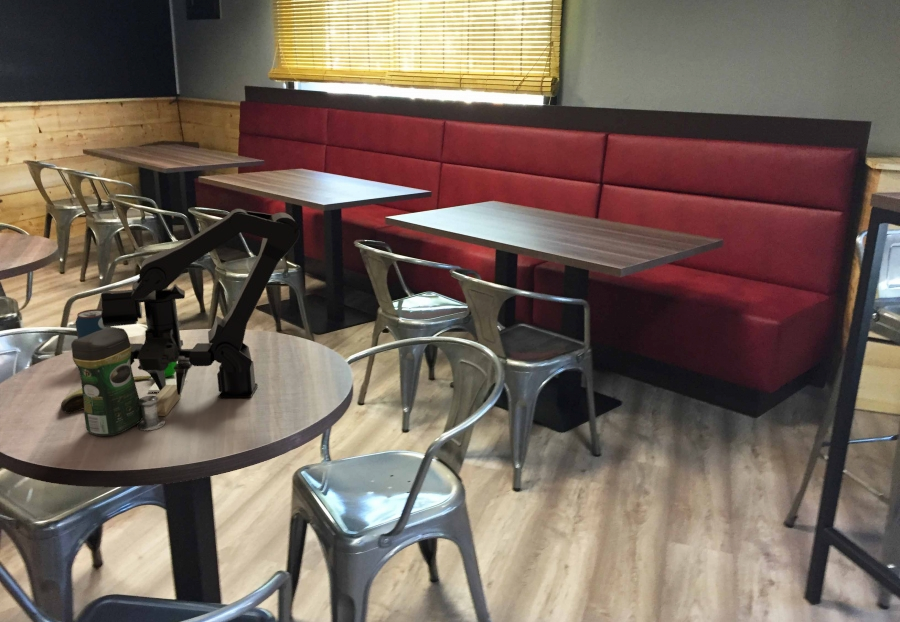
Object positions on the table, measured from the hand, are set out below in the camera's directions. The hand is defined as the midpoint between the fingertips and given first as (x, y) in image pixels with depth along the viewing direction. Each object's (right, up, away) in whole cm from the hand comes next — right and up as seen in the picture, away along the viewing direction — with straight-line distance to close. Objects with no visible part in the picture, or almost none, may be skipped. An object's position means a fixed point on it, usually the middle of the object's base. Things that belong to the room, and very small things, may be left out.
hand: (171, 394), depth 149 cm
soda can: (-24, +5, +20) cm, 31 cm away
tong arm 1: (-1, -2, -4) cm, 5 cm away
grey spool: (0, -5, -11) cm, 12 cm away
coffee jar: (-6, -5, -11) cm, 14 cm away
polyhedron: (-6, +2, +12) cm, 14 cm away
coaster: (-3, +1, +6) cm, 7 cm away
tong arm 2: (+1, -2, -4) cm, 5 cm away
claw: (-15, -1, +3) cm, 15 cm away
